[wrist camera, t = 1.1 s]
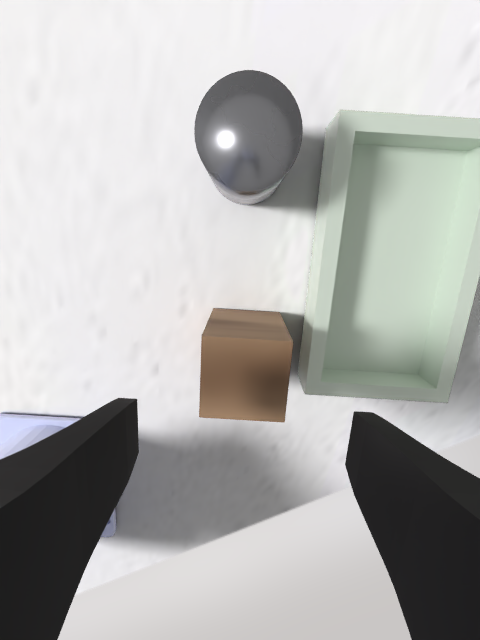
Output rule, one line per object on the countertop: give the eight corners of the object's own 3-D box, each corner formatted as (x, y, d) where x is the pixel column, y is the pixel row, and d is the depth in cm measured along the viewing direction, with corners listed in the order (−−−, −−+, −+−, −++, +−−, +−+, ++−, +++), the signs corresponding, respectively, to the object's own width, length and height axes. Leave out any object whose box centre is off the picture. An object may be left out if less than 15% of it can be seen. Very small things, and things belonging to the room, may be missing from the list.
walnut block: (273, 373, 20) (284, 422, 15) (211, 369, 20) (199, 417, 15) (279, 312, 19) (293, 341, 14) (213, 308, 19) (201, 336, 14)
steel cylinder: (280, 206, 18) (296, 193, 12) (208, 202, 18) (193, 187, 12) (287, 126, 17) (308, 73, 11) (211, 121, 17) (195, 66, 11)
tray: (423, 382, 20) (447, 402, 18) (297, 375, 20) (304, 394, 18) (478, 137, 17) (518, 121, 14) (326, 128, 17) (340, 109, 14)
